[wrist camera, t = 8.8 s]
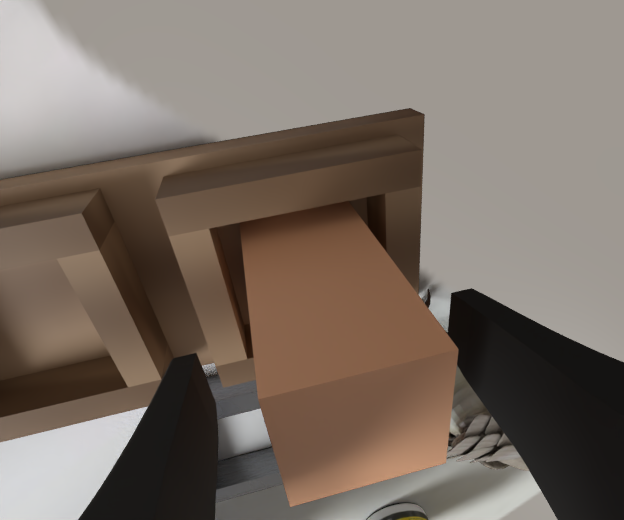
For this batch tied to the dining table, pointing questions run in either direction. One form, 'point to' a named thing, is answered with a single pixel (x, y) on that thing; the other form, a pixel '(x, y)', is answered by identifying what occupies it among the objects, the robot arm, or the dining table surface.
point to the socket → (250, 467)
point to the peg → (342, 354)
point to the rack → (173, 258)
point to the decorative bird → (477, 430)
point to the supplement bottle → (400, 513)
